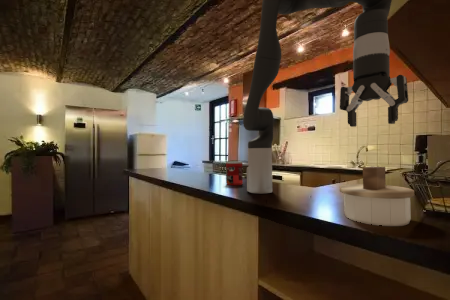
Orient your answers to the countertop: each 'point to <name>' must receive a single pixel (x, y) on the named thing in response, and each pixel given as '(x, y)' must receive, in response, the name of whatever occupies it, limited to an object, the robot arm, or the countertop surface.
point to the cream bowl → (377, 210)
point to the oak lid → (376, 186)
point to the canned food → (234, 173)
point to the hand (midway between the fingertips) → (371, 125)
